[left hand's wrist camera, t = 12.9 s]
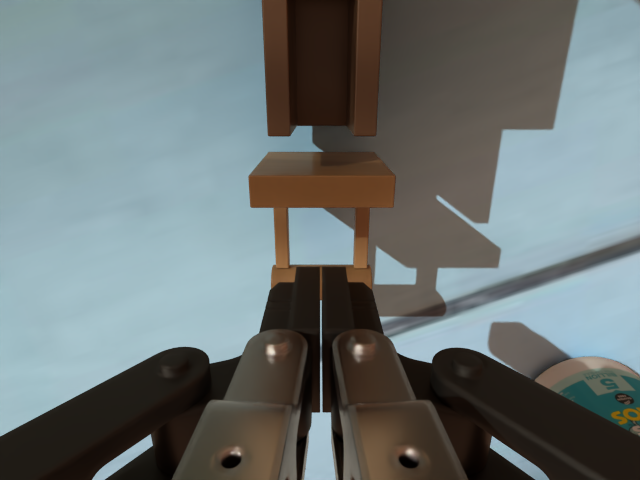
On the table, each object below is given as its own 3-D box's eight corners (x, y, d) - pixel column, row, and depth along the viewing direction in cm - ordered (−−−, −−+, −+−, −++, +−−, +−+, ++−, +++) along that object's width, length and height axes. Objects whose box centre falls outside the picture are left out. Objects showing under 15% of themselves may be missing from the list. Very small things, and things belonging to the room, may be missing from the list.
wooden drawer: (369, 272, 22) (385, 333, 17) (273, 272, 22) (257, 332, 16) (396, -319, 14) (446, -585, 9) (247, -319, 14) (199, -586, 9)
